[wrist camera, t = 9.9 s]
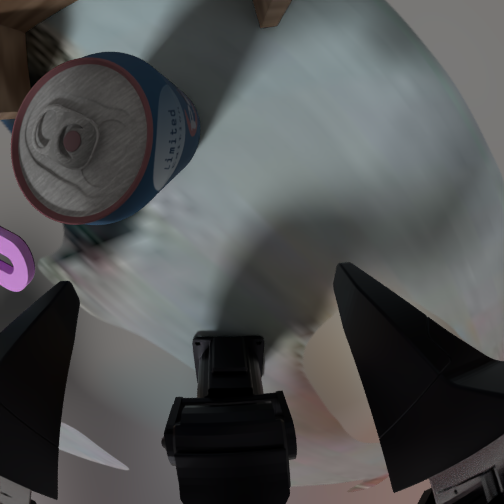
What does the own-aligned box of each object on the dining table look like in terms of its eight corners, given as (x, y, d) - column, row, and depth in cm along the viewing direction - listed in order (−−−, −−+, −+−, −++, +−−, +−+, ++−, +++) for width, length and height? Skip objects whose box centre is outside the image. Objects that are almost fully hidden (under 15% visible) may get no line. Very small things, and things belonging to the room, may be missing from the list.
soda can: (220, 110, 18) (213, 82, 7) (174, 195, 20) (121, 274, 9) (135, 72, 16) (45, 24, 5) (94, 157, 19) (-15, 196, 8)
